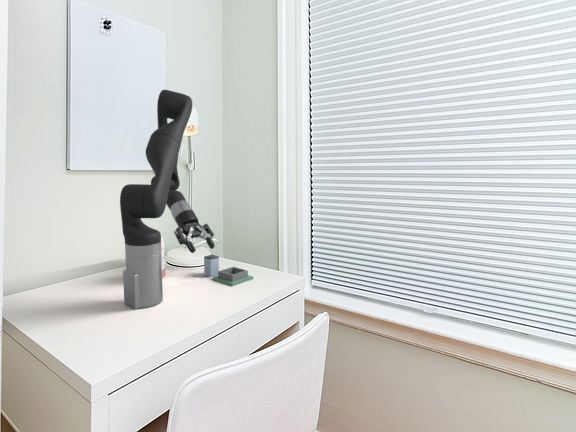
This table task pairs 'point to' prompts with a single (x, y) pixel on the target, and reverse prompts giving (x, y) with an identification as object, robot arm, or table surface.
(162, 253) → the ink cartridge box
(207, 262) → the block
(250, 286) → the table surface
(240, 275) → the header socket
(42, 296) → the table surface
